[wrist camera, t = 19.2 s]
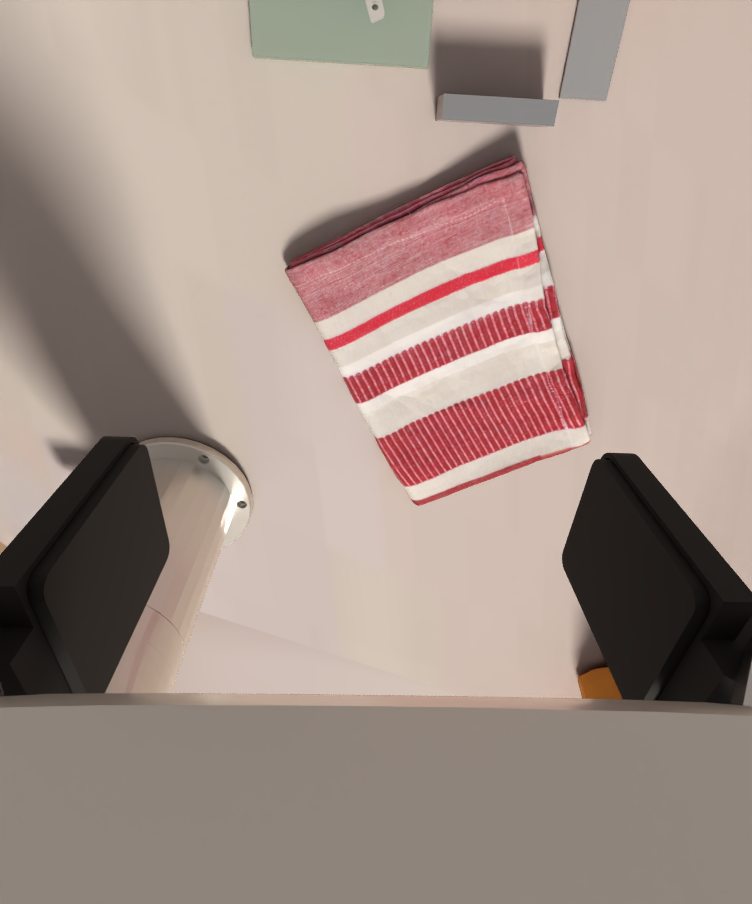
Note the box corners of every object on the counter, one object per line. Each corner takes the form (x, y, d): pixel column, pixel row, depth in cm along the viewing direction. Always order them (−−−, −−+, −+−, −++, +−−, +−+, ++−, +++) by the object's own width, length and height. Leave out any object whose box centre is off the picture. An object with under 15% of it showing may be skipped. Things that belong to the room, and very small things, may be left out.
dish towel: (514, 146, 32) (525, 147, 30) (589, 433, 44) (601, 449, 41) (284, 261, 36) (278, 270, 33) (410, 498, 47) (412, 516, 45)
